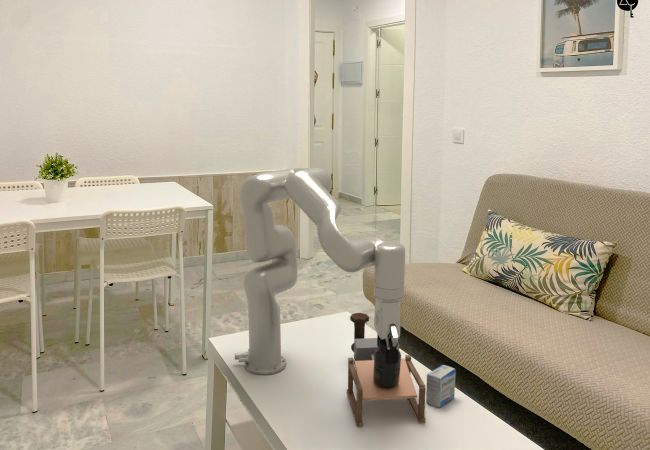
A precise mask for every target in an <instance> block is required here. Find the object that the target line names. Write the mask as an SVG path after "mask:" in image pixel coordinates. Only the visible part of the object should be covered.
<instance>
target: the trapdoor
mask: <svg viewBox="0 0 650 450" xmlns="http://www.w3.org/2000/svg"><path fill="white" fill-rule="evenodd" d="M353 341H354V340H353ZM353 343H354V352H353V356H354V355H355V359H356V361H355V359H354V362H353V364H354V366H355V369H356V372H357V375H358V378H359V380H360V383H361V386H362V391H363V402H364V401H381V400H382V401H383V400H397V399H398V400H399V399H407V398H415V399H416V398H418V394H417V390H416V388H415V384H414V381H413V379H412V374H411V375H410V373H409V370H408V367H407V364H406V361H405V358H401V366H400V378H399V384H398V385H397V386H396V387H394V388H391V389H383V388H380V387H378V386H377V385H376V384H375V383H374V381H373V370H374V354H375V351H376V349H377V348H379V347H378V346H377V337H369V338H367V337H366V338H365V337H364V339H355V341H354V342H353ZM398 350H399V351H400V343H399V342H398Z"/></svg>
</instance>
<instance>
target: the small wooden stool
mask: <svg viewBox="0 0 650 450" xmlns="http://www.w3.org/2000/svg"><path fill="white" fill-rule="evenodd" d="M404 359H405V361H406V364H407V367H408V370H409V373H410V375H411V376H412V377H413V379H414V380H415V382H416V384H417V385H418V401H417V400H416V398H406V399H407V401H408V403H409V405H410V407H411V409H412V411H413V414H414V415H415V418H416V419H417V422H418V424H426V417H425V413H426V412H425V411H426V410H425V407H426V389H427V387H426V384H425V383H424V381H423V379H422V377H421V376H420V373H419V372H418V370H417V369H416V367H415V365H414V364H413V362H412V356H411V355H410V354H405V357H404ZM354 362H355V359H354V357H348V358H347V363H348V365H347V389H346V395H347V399H348V402H349V405H350V408H351V411H352V415H353V417H354V418H353V419H354V422H355V425H356V427H357V428H359V427H360V428H362V427H364V420H363V410H364V409H363V408H364V407H363V403H364V401H363V391H362V386H361V383H360V380H359V378H358V375H357V372H356V368H355V364H354ZM354 386H355V389H356V395H355V392H354Z"/></svg>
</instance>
